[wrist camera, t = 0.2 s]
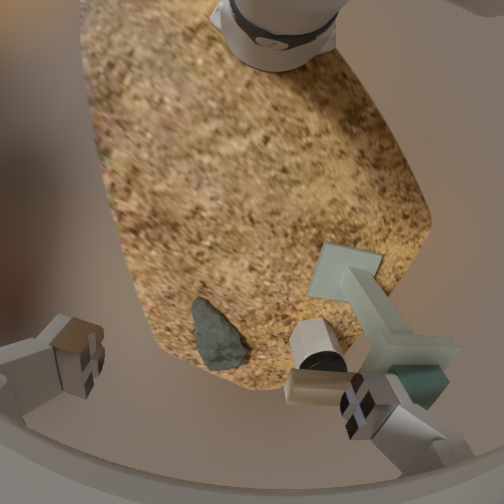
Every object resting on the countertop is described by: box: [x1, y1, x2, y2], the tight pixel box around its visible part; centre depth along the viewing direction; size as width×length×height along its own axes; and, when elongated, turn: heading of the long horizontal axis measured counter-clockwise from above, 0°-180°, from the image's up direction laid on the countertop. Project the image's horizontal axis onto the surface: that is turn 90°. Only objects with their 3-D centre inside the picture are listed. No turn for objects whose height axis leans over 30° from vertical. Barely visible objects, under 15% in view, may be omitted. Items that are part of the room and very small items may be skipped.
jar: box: [289, 317, 347, 372], centre depth 51 cm, size 9×8×12 cm
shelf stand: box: [307, 241, 460, 373], centre depth 40 cm, size 10×11×26 cm
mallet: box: [284, 364, 450, 410], centre depth 26 cm, size 5×18×3 cm, turn 77°
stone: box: [191, 297, 248, 371], centre depth 55 cm, size 17×3×10 cm
